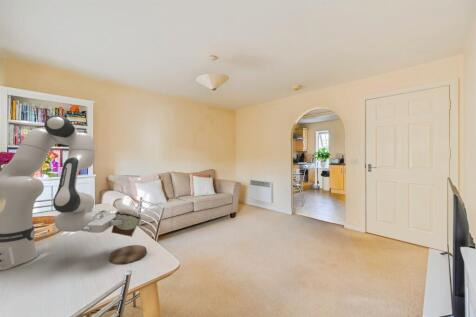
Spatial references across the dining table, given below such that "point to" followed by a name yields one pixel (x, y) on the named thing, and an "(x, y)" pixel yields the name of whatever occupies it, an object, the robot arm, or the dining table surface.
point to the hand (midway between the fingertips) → (124, 221)
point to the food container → (126, 223)
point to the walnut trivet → (127, 254)
